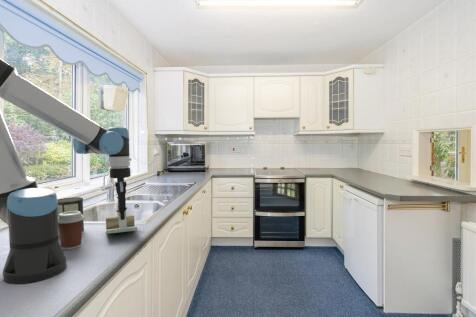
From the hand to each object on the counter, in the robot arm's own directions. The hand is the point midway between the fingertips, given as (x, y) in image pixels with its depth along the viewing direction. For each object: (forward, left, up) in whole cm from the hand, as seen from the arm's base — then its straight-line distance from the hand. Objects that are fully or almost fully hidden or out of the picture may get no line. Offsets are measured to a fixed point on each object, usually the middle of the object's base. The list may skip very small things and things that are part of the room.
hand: (122, 226), depth 119 cm
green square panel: (+7, +1, -2) cm, 8 cm away
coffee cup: (-4, +18, -4) cm, 18 cm away
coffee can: (+13, +20, -4) cm, 24 cm away
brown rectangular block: (+9, +1, -4) cm, 9 cm away
